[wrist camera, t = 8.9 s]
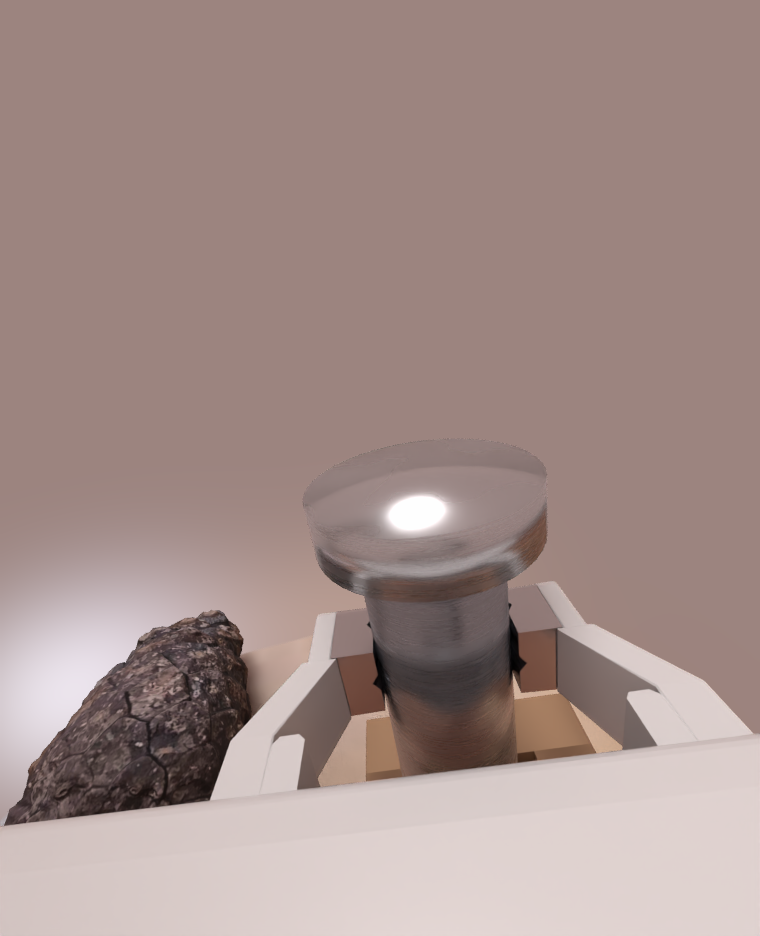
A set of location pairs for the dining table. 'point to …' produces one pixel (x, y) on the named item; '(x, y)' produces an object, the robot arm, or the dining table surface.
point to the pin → (436, 584)
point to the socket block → (537, 734)
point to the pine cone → (147, 728)
